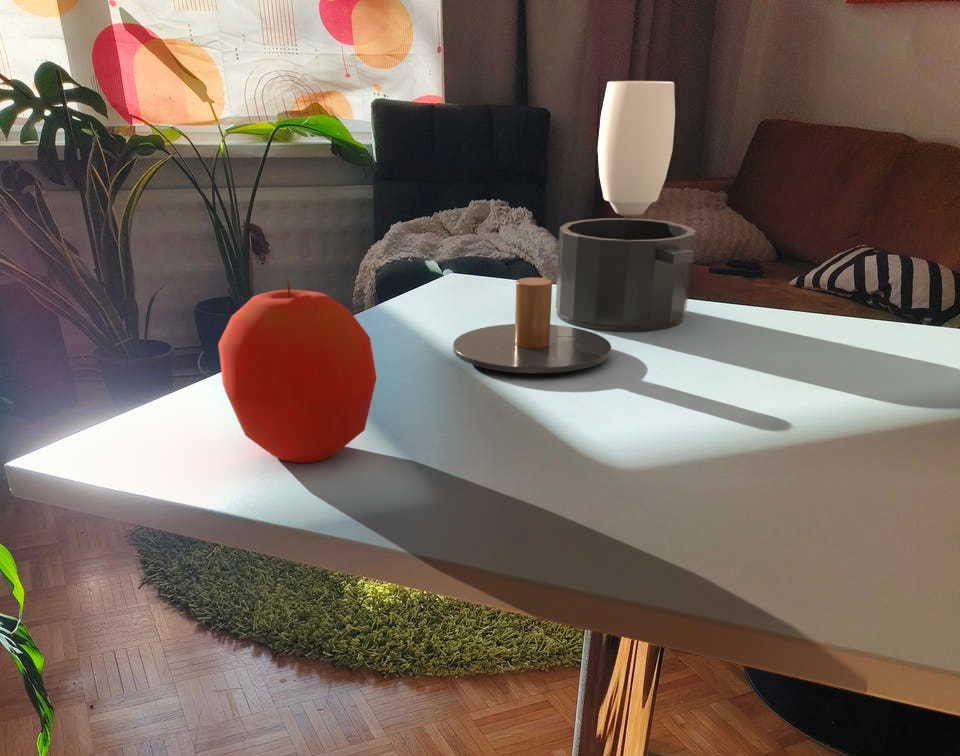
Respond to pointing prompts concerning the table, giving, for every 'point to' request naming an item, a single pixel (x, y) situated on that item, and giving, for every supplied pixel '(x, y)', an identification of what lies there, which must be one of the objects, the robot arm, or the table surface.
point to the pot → (624, 273)
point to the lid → (532, 338)
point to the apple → (298, 373)
